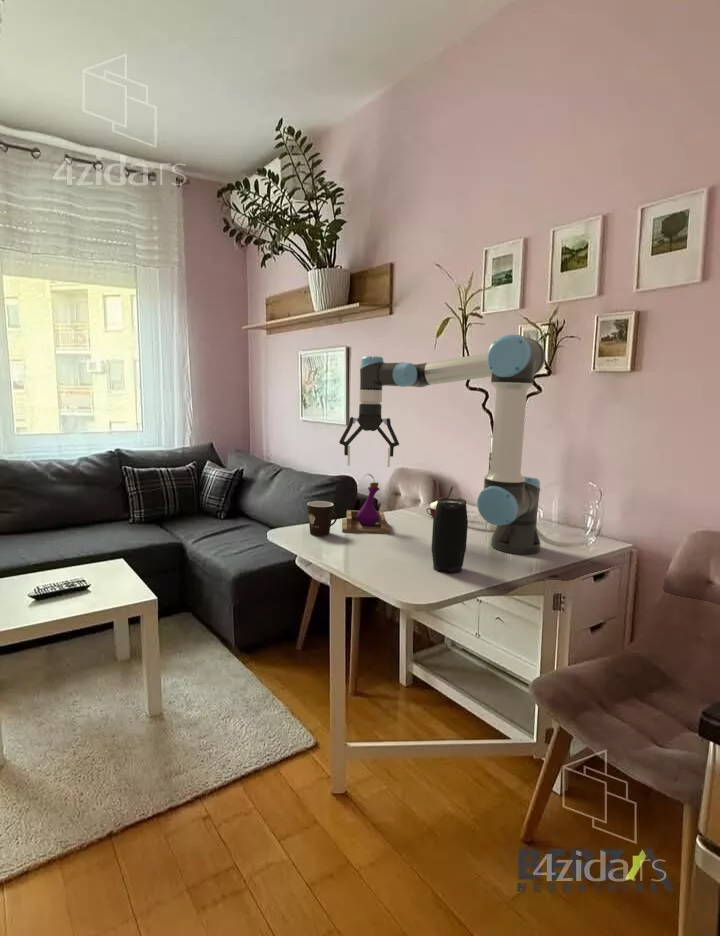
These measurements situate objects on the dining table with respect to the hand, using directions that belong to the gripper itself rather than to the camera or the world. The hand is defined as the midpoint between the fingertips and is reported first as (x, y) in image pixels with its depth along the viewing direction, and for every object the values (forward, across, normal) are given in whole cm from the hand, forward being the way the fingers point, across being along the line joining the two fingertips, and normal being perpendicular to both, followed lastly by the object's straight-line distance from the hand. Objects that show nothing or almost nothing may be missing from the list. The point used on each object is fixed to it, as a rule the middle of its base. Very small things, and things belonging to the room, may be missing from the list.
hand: (368, 465), depth 193 cm
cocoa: (+22, -29, -19) cm, 41 cm away
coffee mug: (+22, +15, +11) cm, 29 cm away
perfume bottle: (+21, 0, 0) cm, 21 cm away
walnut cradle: (+22, 0, 0) cm, 22 cm away
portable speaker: (+22, -21, +42) cm, 52 cm away
